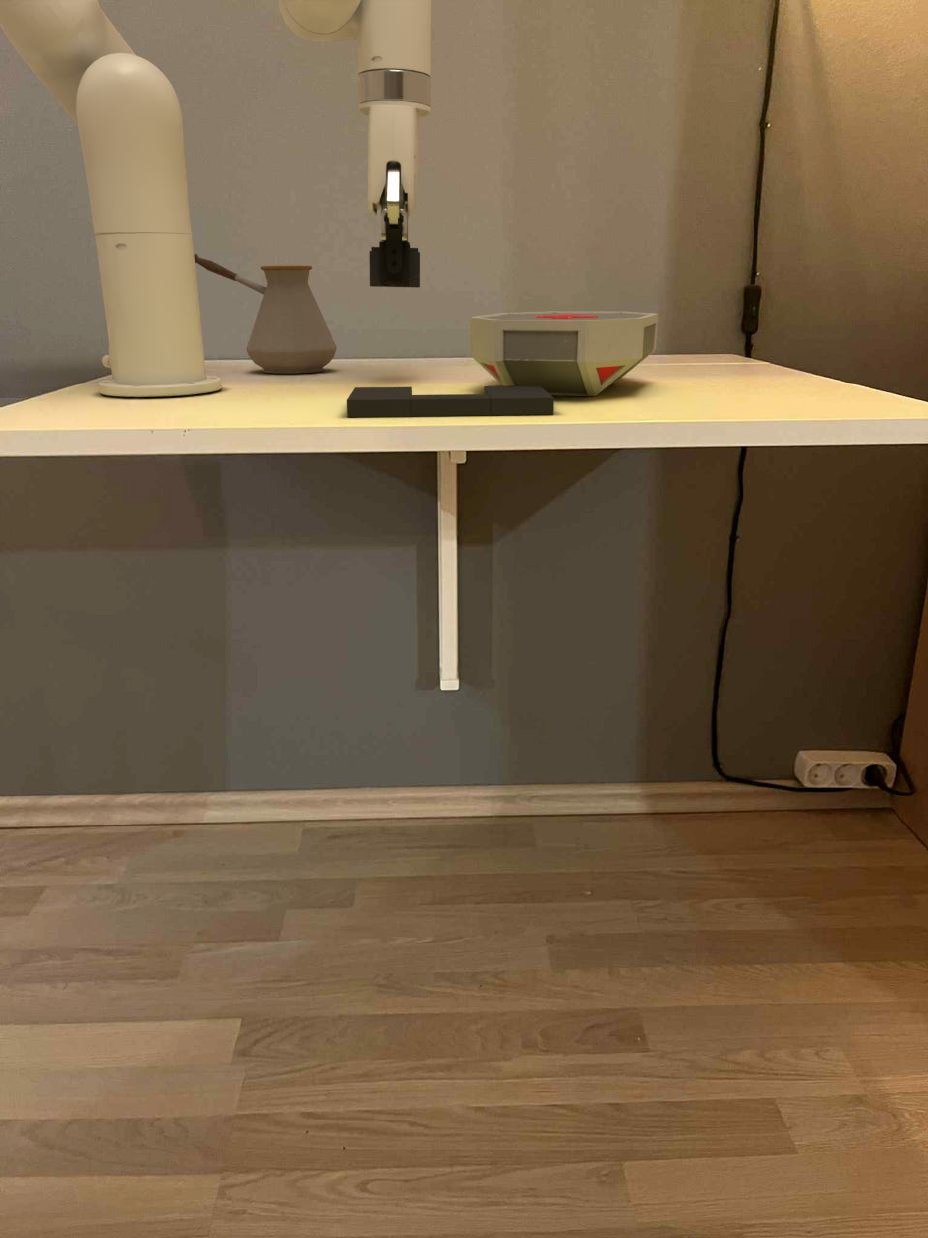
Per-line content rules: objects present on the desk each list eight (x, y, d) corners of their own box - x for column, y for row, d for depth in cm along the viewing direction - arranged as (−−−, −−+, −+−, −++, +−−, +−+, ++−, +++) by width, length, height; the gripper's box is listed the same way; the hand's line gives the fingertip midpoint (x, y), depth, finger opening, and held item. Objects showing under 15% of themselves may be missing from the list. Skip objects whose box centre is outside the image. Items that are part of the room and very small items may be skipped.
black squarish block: (369, 286, 102) (369, 246, 101) (372, 286, 108) (371, 248, 106) (419, 287, 103) (420, 247, 101) (419, 287, 108) (420, 249, 106)
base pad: (347, 417, 82) (346, 399, 82) (355, 402, 92) (354, 387, 91) (553, 414, 83) (553, 397, 83) (540, 400, 92) (540, 384, 92)
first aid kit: (629, 405, 89) (660, 378, 111) (634, 320, 86) (664, 311, 109) (451, 399, 94) (515, 375, 116) (451, 319, 91) (516, 311, 114)
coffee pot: (351, 368, 127) (345, 247, 122) (315, 376, 117) (307, 245, 112) (209, 365, 133) (198, 250, 128) (163, 373, 122) (149, 248, 117)
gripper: (363, 110, 107) (365, 281, 113) (352, 79, 91) (356, 280, 97) (429, 112, 107) (428, 282, 113) (431, 81, 91) (429, 282, 97)
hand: (395, 279), depth 105 cm, fingers closed on black squarish block, 5 cm apart
